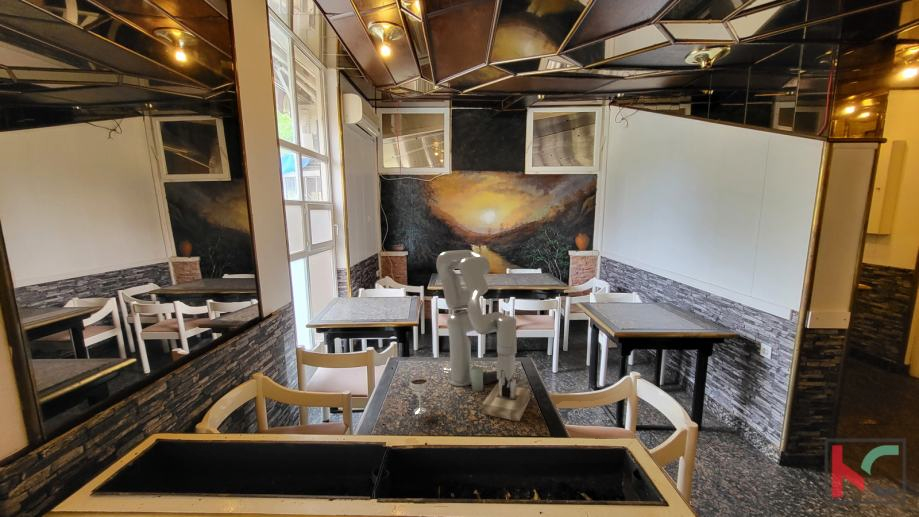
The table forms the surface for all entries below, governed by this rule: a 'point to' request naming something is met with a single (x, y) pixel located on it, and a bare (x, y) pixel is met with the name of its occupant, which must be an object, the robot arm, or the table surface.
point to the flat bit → (512, 389)
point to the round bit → (477, 379)
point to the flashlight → (490, 377)
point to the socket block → (506, 404)
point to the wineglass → (419, 391)
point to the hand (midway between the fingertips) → (507, 394)
